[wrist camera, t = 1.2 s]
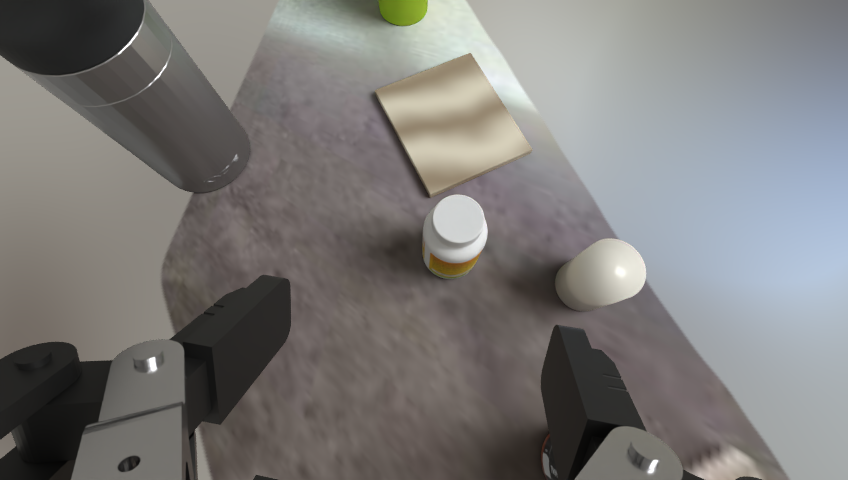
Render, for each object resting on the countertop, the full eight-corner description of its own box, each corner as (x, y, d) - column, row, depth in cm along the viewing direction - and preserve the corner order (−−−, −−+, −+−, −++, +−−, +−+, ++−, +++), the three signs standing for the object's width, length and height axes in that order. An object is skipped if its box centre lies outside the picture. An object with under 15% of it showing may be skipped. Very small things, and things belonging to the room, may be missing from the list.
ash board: (375, 94, 45) (374, 90, 44) (469, 58, 47) (470, 52, 46) (430, 197, 41) (430, 194, 40) (530, 153, 43) (532, 149, 42)
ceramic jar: (544, 286, 38) (570, 268, 32) (576, 250, 40) (607, 226, 33) (585, 322, 37) (621, 312, 31) (617, 285, 39) (658, 267, 32)
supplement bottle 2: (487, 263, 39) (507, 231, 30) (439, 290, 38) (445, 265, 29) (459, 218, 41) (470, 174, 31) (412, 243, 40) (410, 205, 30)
